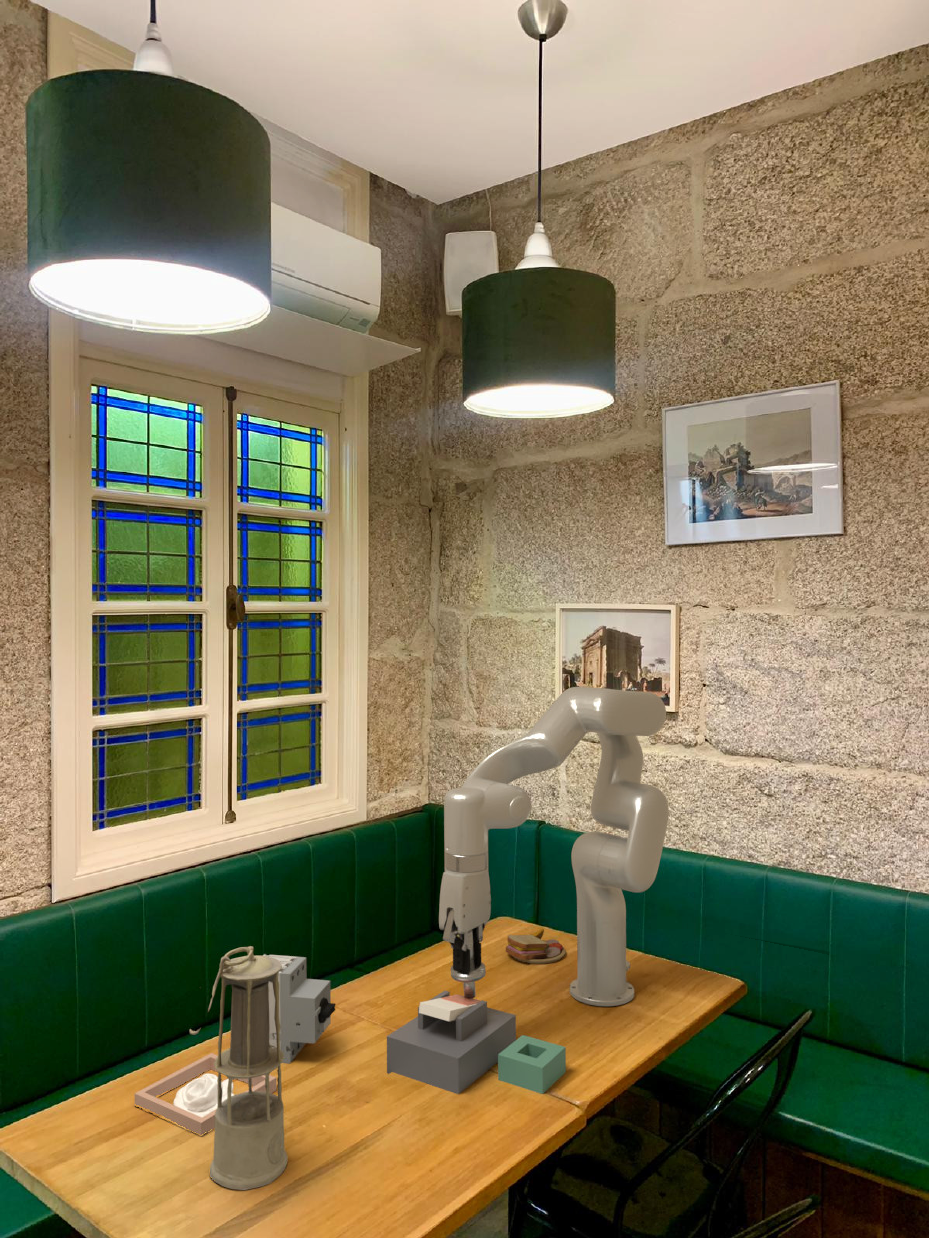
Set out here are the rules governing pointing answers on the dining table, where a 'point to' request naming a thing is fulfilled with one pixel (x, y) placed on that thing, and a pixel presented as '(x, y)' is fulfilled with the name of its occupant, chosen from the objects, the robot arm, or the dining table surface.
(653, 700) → the robot arm
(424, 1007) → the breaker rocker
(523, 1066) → the stylus holder
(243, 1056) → the lamp
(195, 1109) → the rose
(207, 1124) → the pink square frame
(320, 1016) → the circuit breaker
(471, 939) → the metal knob
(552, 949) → the toy sandwich meal
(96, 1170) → the dining table surface
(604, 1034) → the dining table surface
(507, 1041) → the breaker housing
